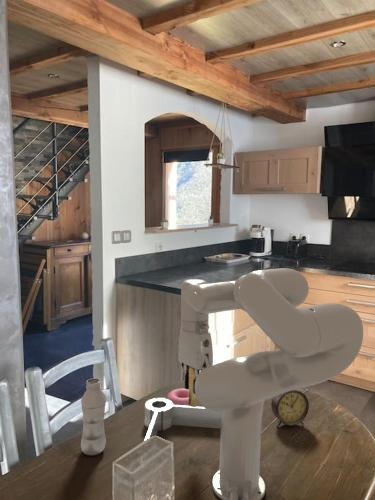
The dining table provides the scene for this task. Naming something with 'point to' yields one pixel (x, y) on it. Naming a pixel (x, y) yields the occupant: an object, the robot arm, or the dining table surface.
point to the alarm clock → (290, 407)
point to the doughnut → (179, 396)
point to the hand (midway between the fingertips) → (194, 389)
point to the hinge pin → (192, 397)
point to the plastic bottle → (93, 418)
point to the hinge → (177, 416)
